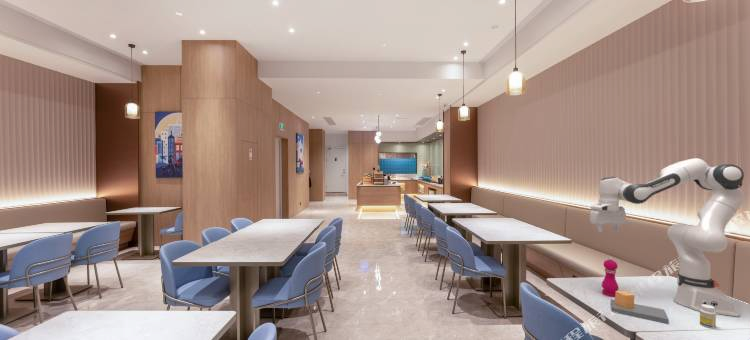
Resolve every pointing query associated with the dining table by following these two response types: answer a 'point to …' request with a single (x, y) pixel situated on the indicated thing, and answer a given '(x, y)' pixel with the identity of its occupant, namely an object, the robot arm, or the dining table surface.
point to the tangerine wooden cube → (624, 299)
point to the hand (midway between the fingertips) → (608, 231)
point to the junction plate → (642, 312)
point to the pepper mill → (610, 278)
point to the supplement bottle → (707, 316)
